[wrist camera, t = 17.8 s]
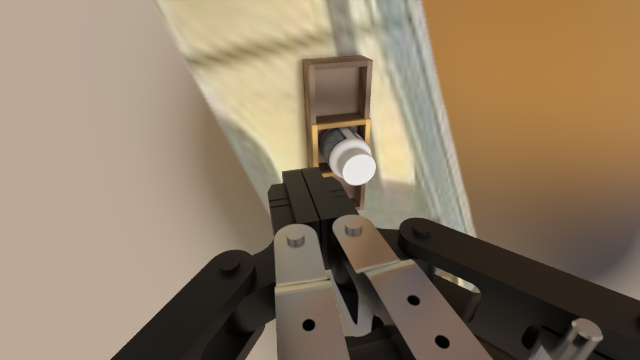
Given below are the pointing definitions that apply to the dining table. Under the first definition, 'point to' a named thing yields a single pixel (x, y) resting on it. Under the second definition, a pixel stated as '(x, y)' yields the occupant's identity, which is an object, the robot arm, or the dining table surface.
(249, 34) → the dining table surface
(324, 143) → the pill bottle
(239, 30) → the dining table surface
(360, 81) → the rack
